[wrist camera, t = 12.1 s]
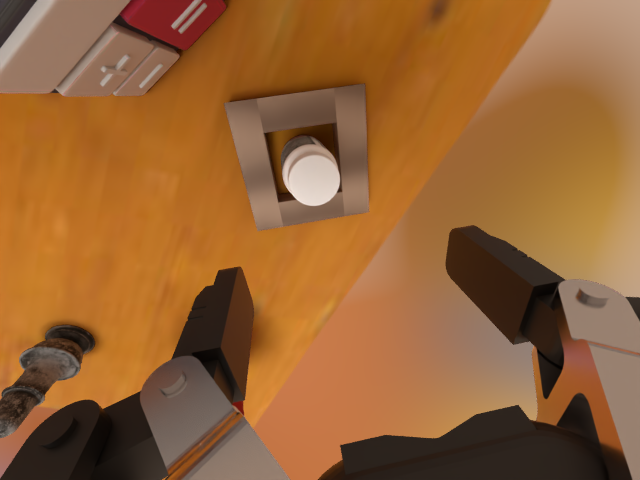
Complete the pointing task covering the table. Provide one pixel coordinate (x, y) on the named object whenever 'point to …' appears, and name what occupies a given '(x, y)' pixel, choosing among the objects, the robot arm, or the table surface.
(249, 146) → the gray square frame
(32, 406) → the rusty flanged peg
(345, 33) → the table surface
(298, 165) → the pill bottle
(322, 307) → the table surface
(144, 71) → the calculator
